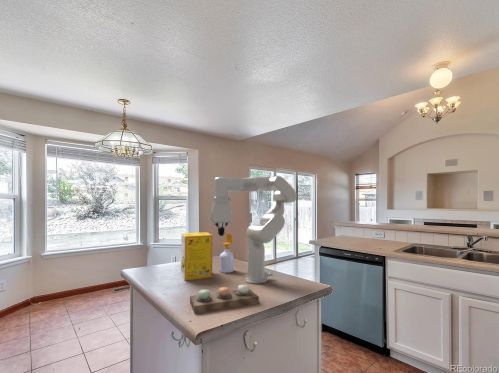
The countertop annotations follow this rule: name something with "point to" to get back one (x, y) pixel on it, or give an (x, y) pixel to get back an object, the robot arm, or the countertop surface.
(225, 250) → the soap bottle
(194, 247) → the packaging box
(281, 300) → the countertop surface
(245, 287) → the button cream
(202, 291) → the button sage
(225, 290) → the button terracotta
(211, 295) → the console
